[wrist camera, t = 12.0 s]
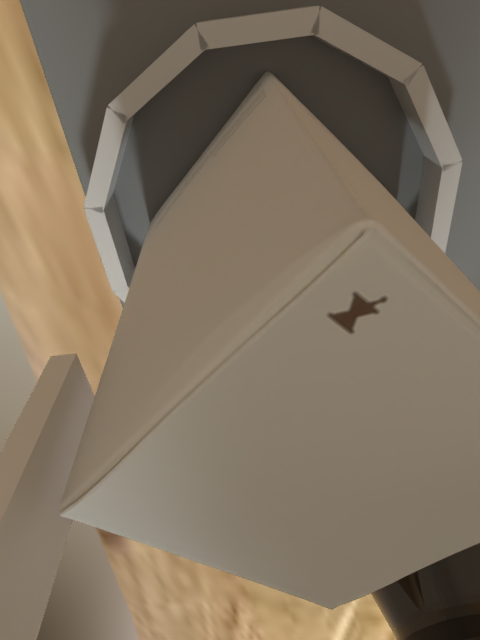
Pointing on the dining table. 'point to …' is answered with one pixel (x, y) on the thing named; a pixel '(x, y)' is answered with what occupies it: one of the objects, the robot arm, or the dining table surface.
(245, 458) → the supplement box
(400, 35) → the bottle holder
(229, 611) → the dining table surface
